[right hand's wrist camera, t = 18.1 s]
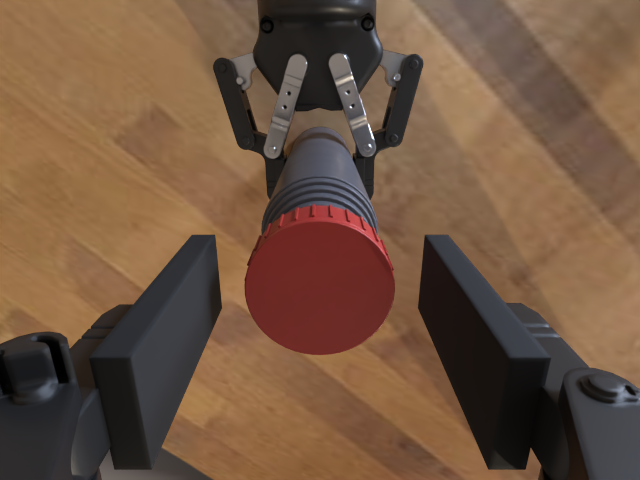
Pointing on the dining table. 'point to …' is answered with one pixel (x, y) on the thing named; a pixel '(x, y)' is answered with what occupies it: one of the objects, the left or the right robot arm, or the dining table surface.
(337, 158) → the bottle
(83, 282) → the dining table surface
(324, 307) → the cap
